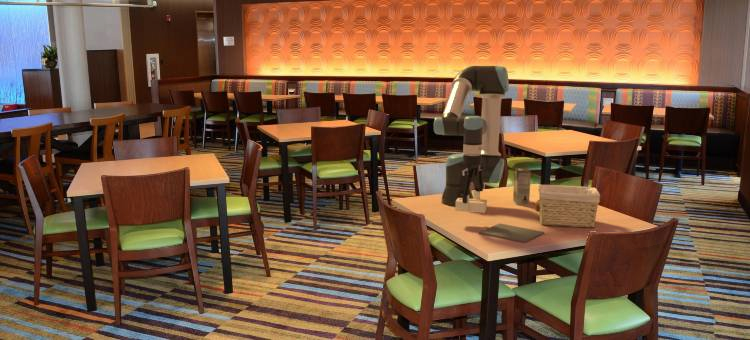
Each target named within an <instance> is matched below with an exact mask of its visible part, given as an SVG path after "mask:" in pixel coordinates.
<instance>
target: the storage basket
mask: <svg viewBox="0 0 750 340" xmlns="http://www.w3.org/2000/svg"><path fill="white" fill-rule="evenodd" d="M538 194H539V197H538V198H539V199H540V209H539V210H540V212H539V211H538V212H539V214H538V215H539V221H540V224H541V225H543V226H544V225H545V226H558V227H564V226H565V227H570V228H572V227H573V228H593V227H594V228H595V224H596V218H597V212H598V208H599V207H598V206H599V203H600V198H601V194H600V192H599V191H598V189H597V188H596V187H590V186H580V185H579V186H576V185H559V184H539V186H538ZM594 228H593V229H594Z"/></svg>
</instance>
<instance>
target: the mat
mask: <svg viewBox="0 0 750 340" xmlns="http://www.w3.org/2000/svg"><path fill="white" fill-rule="evenodd" d="M478 234H479V235H484V236H489V237H495V238H499V239H505V240H509V241H513V242H519V243H522V244H526V243H528V242H529V241H531V240H534V239H536V238H539V237H540V236H542V235H545V231H541V230H536V229H531V228H527V227H520V226H515V225H510V224H509V225H508V224H505V223H501V222H499V223H498V224H494V225H492V226H489V227H488V228H485V229H483V230H481V231H478Z"/></svg>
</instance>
